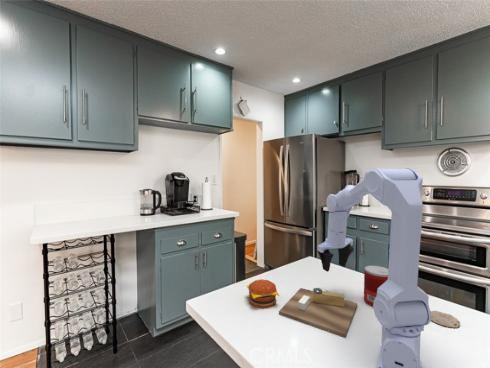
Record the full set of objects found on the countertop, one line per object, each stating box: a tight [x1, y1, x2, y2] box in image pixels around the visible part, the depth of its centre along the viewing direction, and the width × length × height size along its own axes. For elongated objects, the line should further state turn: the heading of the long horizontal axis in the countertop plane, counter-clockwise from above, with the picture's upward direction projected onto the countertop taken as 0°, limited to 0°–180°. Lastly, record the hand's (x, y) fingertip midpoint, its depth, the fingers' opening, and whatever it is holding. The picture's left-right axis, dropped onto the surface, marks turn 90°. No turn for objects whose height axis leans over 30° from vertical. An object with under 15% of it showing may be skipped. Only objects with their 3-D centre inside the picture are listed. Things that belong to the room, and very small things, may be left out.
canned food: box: [363, 265, 388, 307], centre depth 81 cm, size 8×8×11 cm
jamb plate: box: [278, 287, 359, 338], centre depth 77 cm, size 18×19×1 cm
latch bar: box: [312, 287, 346, 307], centre depth 79 cm, size 10×3×4 cm, turn 71°
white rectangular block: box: [298, 295, 310, 310], centre depth 77 cm, size 5×2×2 cm, turn 146°
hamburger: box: [246, 279, 280, 309], centre depth 82 cm, size 9×10×7 cm
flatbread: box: [430, 310, 461, 329], centre depth 72 cm, size 8×8×1 cm
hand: (334, 267), depth 85 cm, fingers open, 7 cm apart
